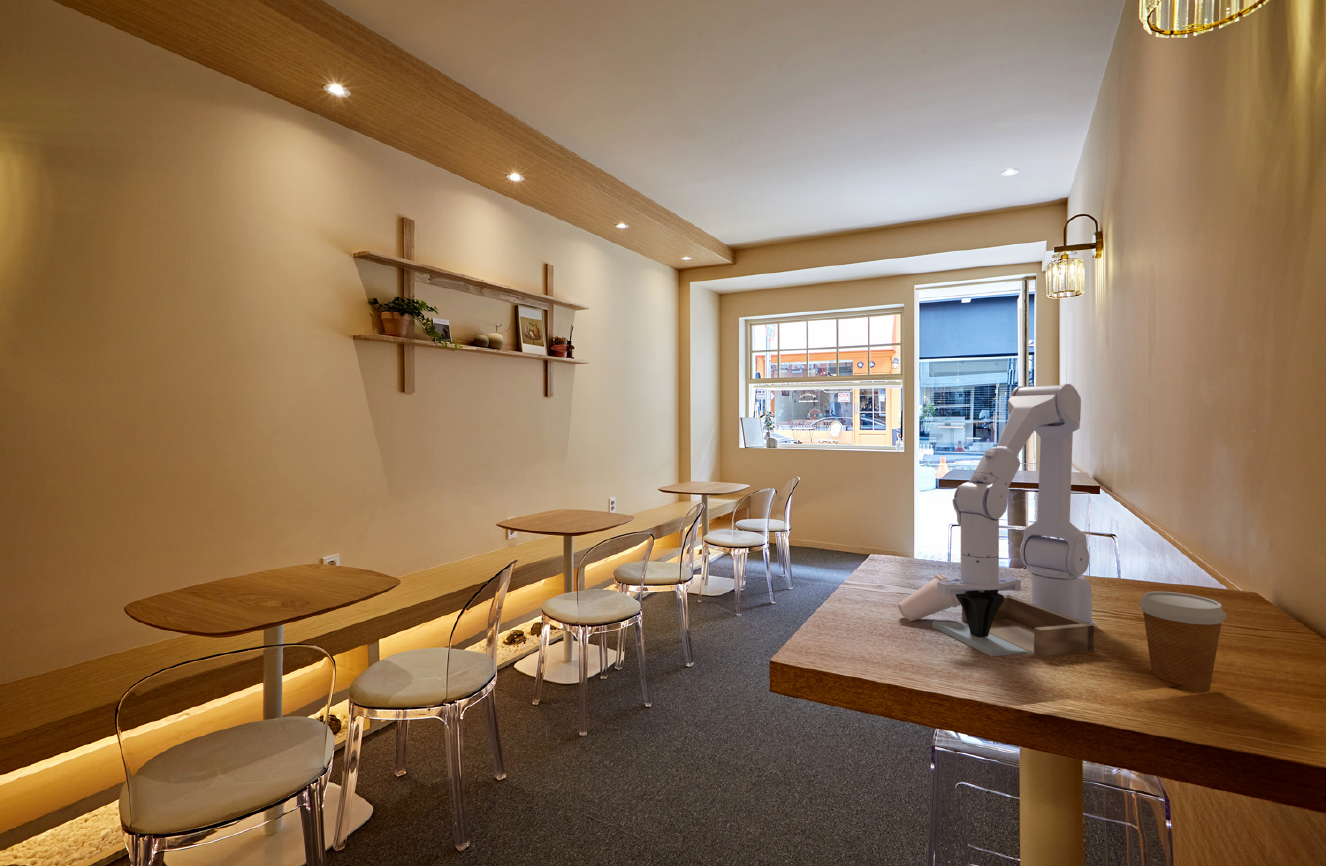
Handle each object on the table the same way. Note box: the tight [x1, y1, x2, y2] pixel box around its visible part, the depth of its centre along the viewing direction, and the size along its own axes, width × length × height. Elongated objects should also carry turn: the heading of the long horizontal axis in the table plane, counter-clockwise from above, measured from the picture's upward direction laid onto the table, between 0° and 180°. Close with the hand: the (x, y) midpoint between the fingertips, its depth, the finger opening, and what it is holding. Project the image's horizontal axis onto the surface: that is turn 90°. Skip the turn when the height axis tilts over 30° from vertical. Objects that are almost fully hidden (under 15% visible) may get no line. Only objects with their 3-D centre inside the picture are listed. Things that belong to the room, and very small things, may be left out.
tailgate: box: [931, 620, 1031, 657], centre depth 104 cm, size 1×14×7 cm
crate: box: [961, 594, 1095, 657], centre depth 106 cm, size 10×18×5 cm, turn 12°
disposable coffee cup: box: [1138, 591, 1227, 694], centre depth 88 cm, size 10×10×12 cm
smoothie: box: [897, 573, 961, 622], centre depth 115 cm, size 6×6×14 cm
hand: (979, 635), depth 105 cm, fingers closed
